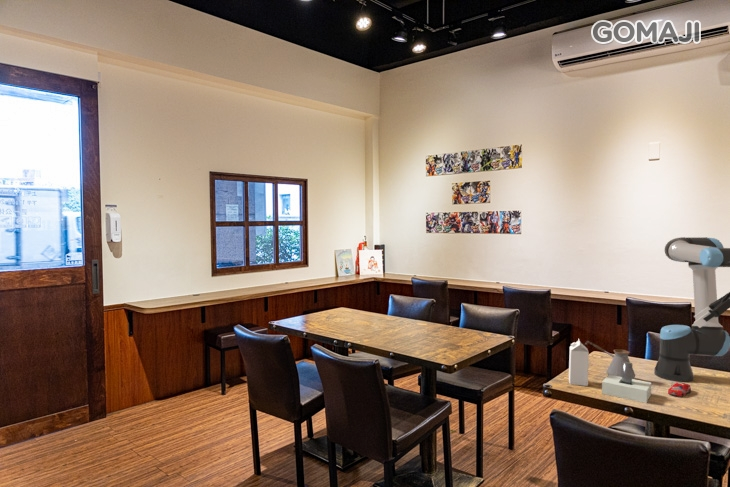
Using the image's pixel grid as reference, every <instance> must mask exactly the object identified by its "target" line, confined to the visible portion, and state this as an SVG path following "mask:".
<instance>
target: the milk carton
mask: <svg viewBox="0 0 730 487" xmlns="http://www.w3.org/2000/svg"><path fill="white" fill-rule="evenodd" d="M589 354H590V353H589V350H588V348H587V347H586V346H585V344H583V343H582V342H581V341H580V338H578V340H577V341H576V342H575V341H574V342H572V343H570V346H569V357H568V358H569V360H568V382H569V385H573V386H574V385H575V386H586V387H588V385H589V361H590V360H589V358H590V357H589Z"/></svg>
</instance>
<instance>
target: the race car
mask: <svg viewBox="0 0 730 487" xmlns="http://www.w3.org/2000/svg"><path fill="white" fill-rule="evenodd" d="M691 390H692V387H691V385H690V384H688V383H684V382H681V381H677V382H675V383H674V384H673V385H670V388H668V391H667V394H668V395H671V396H674V397H678V398H684V396H687V395H688V394H690V393H691Z"/></svg>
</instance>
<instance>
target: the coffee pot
mask: <svg viewBox="0 0 730 487" xmlns="http://www.w3.org/2000/svg"><path fill="white" fill-rule="evenodd" d="M588 344H590V345H591V346H593V347H594V348H596V349H598V350H600V351H601V352H603V353H605V354H608V355H609V356H610V357H612V360H611V362H610V364H609V366H608V367H607V369H606V374H607V376H608V375H614V376H619V377H622V363H623V362H630V363H631V361H630V359H629V354H630V350H629V351H628V350H626V349H613V352H614V354H612V353H610V352H608V351H606V350H605V349H604V348H602V347H600V346H599V345H597V344H595V343H593V342H591V341H590V340H586V342H585V343H584V345H588ZM635 378H636V373H635V371H634V368H633V367H632V379H635Z"/></svg>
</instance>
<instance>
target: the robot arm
mask: <svg viewBox="0 0 730 487" xmlns="http://www.w3.org/2000/svg"><path fill="white" fill-rule="evenodd" d="M664 253H665V256H666V257H667V258H668V259H669V260H671V261H673V262H680V263H688V264H687V266H688V268H690V269H691V270H692V282H693V286H692V287H693V301H694V315H693V318H694V319H695V321H694V322H693V324H691V327H690V326H688V325H684V324H669V325H665V326H662V327H661V329H660V332H659V356H658V360H657V362H656V364H655V366H654V372H653V373H654V375H656V376H657V377H659V378H662V379H665V380H669V381H674V382H675V381H676V382H683V383H684V382H692V381H693V380H694V372H693V369H692V366H691V362H690V356H704V357H706V356H707V357H723V356H724V355H726V354H727V353H728V351H729V350H730V334H729V333H728V332H727V330H724V326H723V325H721V323H720V322H719V317H720V316H722V314H724V313H726V311H727V310H729V309H730V291H728V292H727V293H726V294H724V295H723V296H721V297H719V298H718V294H717V280H716V279H717V278H716V270H717V269H718V268H730V247H724V245H723V243H722V242H721V241H720V240H719V239H717V238H715V237H685V236H684V237H683V236H681V237H675V238H673V239H670V240H669V241H668V242H667V243H666V244H665V246H664Z"/></svg>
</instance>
